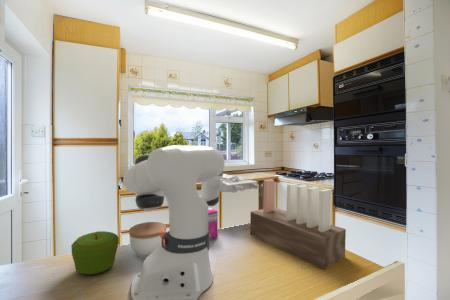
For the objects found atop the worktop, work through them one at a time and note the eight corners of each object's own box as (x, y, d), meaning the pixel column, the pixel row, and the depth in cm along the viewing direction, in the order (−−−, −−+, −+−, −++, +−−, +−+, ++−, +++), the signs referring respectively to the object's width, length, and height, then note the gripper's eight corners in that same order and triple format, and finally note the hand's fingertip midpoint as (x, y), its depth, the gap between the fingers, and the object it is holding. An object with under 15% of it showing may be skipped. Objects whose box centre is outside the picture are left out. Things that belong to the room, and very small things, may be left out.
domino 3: (299, 224, 83) (300, 187, 83) (296, 223, 84) (296, 186, 84) (307, 221, 86) (308, 185, 86) (304, 220, 87) (304, 185, 87)
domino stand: (323, 269, 71) (324, 238, 71) (250, 234, 98) (250, 211, 98) (344, 257, 79) (345, 229, 79) (271, 227, 106) (272, 206, 106)
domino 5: (322, 232, 76) (323, 191, 75) (318, 230, 77) (319, 190, 77) (330, 229, 79) (331, 189, 78) (326, 227, 80) (326, 188, 80)
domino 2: (289, 221, 87) (290, 185, 86) (286, 219, 88) (286, 184, 88) (297, 218, 90) (298, 183, 89) (294, 217, 91) (294, 183, 91)
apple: (64, 284, 62) (64, 244, 62) (80, 261, 74) (80, 228, 73) (113, 277, 65) (113, 239, 65) (121, 257, 77) (121, 224, 77)
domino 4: (310, 228, 79) (311, 189, 79) (306, 226, 81) (307, 188, 80) (318, 225, 82) (319, 187, 82) (314, 224, 84) (315, 186, 83)
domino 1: (265, 212, 97) (266, 180, 96) (263, 211, 98) (263, 180, 98) (273, 210, 100) (274, 179, 99) (270, 210, 101) (271, 179, 101)
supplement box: (198, 236, 95) (199, 209, 95) (210, 233, 99) (210, 207, 99) (206, 241, 91) (206, 213, 91) (218, 237, 94) (218, 210, 94)
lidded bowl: (155, 264, 73) (155, 230, 73) (121, 259, 76) (121, 227, 75) (171, 246, 85) (172, 218, 85) (142, 243, 88) (142, 215, 88)
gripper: (247, 187, 126) (265, 192, 114) (217, 191, 113) (234, 197, 102) (247, 176, 125) (265, 179, 114) (217, 179, 113) (234, 183, 102)
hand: (250, 188), depth 108 cm, fingers open, 8 cm apart
